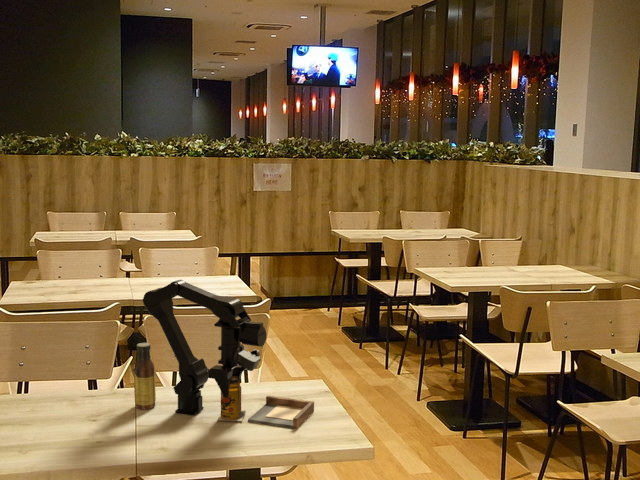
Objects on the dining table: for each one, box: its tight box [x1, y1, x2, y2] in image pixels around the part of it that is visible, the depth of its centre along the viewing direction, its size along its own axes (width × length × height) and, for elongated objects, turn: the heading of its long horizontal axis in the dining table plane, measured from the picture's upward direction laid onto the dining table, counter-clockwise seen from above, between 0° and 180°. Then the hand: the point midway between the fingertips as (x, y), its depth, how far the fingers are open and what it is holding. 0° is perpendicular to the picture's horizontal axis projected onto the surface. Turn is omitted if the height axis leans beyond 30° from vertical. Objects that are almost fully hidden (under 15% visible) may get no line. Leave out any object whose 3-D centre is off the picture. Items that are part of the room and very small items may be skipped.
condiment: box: [217, 376, 247, 422], centre depth 234 cm, size 7×8×12 cm
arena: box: [247, 395, 315, 430], centre depth 236 cm, size 15×15×3 cm
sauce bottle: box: [133, 342, 157, 410], centre depth 240 cm, size 7×6×20 cm
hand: (230, 393), depth 233 cm, fingers closed on condiment, 6 cm apart
